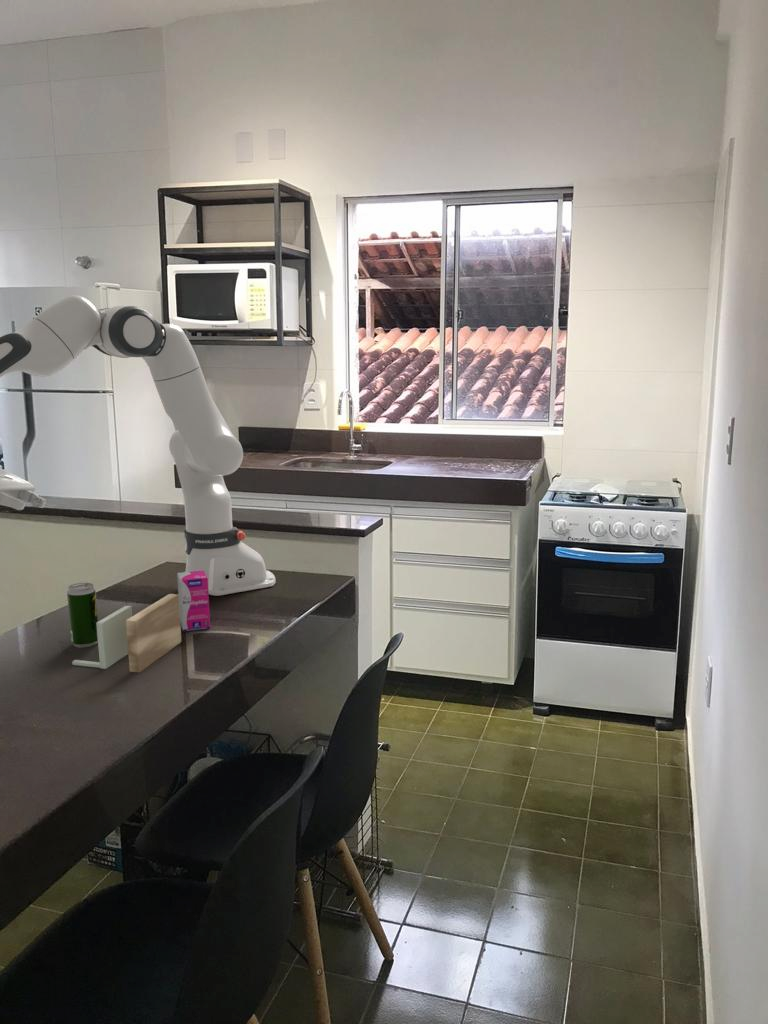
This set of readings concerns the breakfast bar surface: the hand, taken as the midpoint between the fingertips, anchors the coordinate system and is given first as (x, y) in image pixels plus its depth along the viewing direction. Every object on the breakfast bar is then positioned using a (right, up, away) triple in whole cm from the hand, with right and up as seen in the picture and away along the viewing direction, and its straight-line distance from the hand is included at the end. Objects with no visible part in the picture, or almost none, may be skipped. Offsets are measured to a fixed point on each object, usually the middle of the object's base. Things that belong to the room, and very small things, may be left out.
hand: (33, 505), depth 166 cm
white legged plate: (+15, -29, -3) cm, 33 cm away
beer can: (+9, -28, +4) cm, 30 cm away
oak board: (+25, -29, -3) cm, 38 cm away
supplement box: (+29, -26, +14) cm, 41 cm away
